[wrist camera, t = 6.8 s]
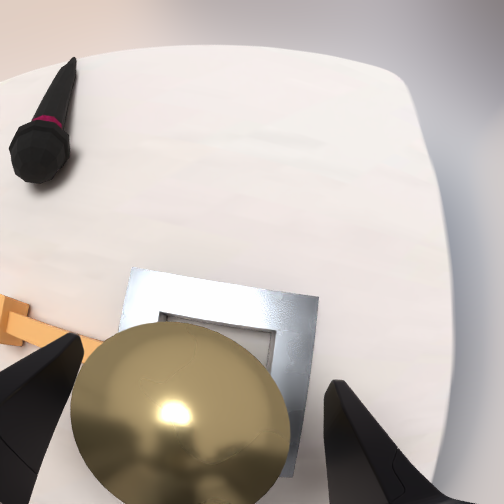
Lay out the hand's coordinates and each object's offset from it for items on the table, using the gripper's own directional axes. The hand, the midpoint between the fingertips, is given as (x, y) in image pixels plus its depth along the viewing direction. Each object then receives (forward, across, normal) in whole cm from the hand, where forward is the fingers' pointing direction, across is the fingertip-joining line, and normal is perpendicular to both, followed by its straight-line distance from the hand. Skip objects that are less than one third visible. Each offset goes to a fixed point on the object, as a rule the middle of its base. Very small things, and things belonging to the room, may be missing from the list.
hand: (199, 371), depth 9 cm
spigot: (+5, 0, +7) cm, 9 cm away
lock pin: (+5, +11, +7) cm, 14 cm away
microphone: (+20, +19, -7) cm, 28 cm away
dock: (+6, 0, +7) cm, 9 cm away
